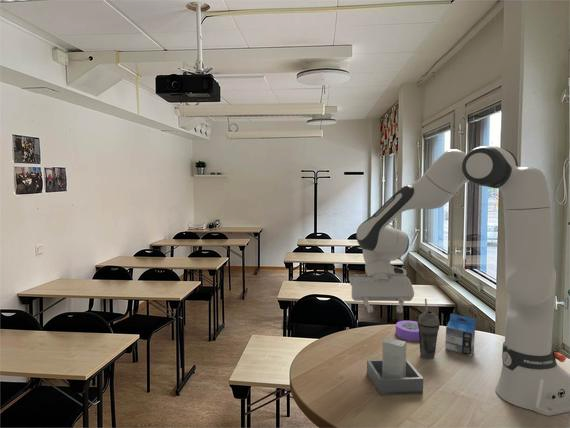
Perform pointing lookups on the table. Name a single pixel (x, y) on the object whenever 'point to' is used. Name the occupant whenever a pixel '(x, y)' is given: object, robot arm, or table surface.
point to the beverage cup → (428, 333)
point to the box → (395, 380)
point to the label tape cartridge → (460, 335)
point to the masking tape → (407, 330)
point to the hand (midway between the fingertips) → (385, 311)
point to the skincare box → (394, 359)
